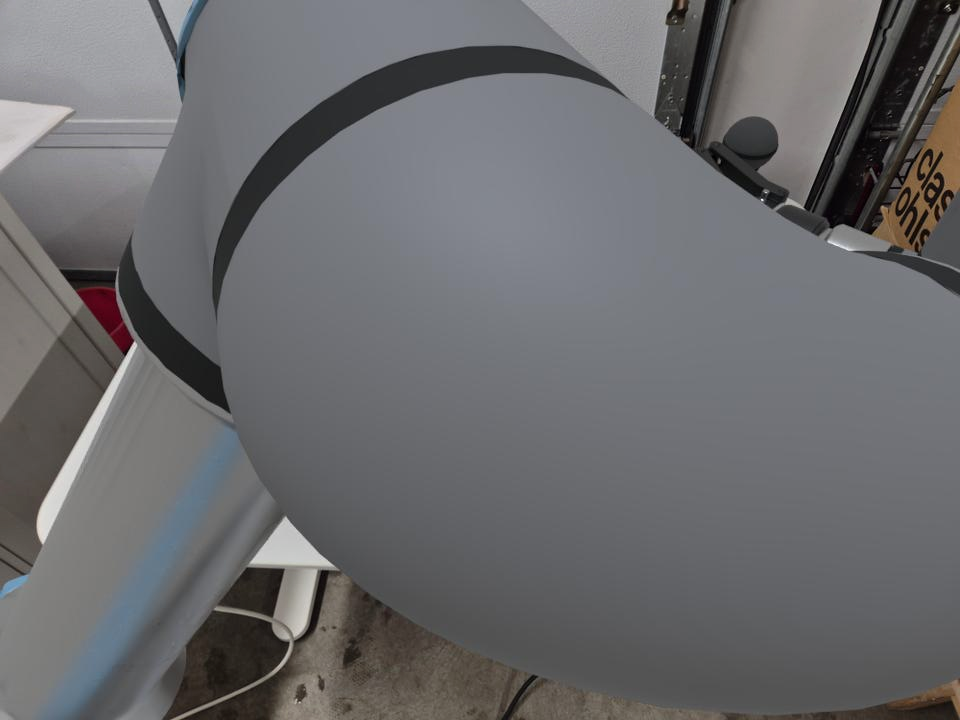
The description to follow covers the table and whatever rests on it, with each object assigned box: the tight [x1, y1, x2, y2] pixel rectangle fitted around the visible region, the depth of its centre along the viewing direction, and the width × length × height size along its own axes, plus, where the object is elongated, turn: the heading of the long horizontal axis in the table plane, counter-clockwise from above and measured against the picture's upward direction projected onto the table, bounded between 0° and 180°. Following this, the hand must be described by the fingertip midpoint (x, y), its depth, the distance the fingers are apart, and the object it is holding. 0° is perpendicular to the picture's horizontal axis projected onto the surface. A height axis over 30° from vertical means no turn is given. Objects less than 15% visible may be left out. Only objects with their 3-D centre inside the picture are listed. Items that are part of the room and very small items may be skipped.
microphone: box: [721, 115, 779, 172], centre depth 82 cm, size 7×7×20 cm
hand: (587, 171), depth 58 cm, fingers open, 13 cm apart
